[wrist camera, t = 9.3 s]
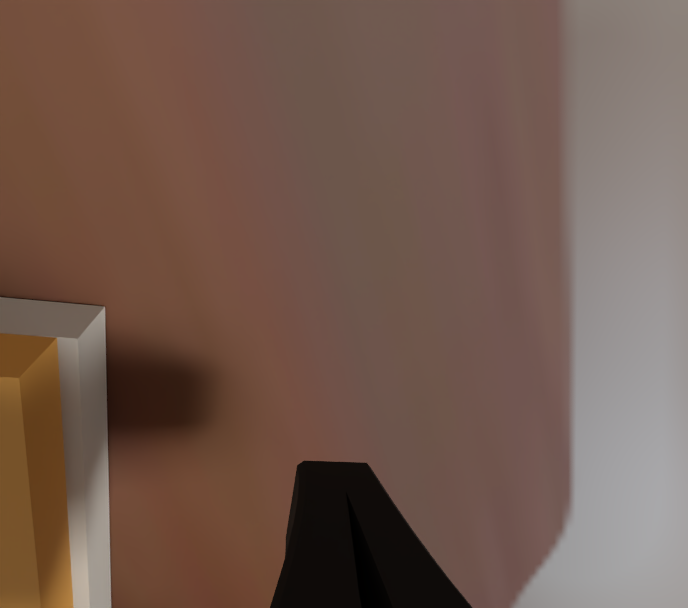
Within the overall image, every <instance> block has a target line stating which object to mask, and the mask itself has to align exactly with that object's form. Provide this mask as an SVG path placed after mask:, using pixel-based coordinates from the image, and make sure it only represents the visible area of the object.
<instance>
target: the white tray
mask: <svg viewBox="0 0 688 608" xmlns="http://www.w3.org/2000/svg"><path fill="white" fill-rule="evenodd" d="M0 333H3V334H16V335H29V336H42V337H55V338H57V345H58V362H59V378H60V394H61V411H62V427H63V443H64V460H65V476H66V492H67V509H68V525H69V542H70V558H71V574H72V591H73V607H74V608H111V575H110V526H109V477H108V428H107V379H106V330H105V306H94V305H83V304H72V303H60V302H49V301H38V300H27V299H16V298H5V297H0Z"/></svg>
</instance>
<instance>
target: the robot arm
mask: <svg viewBox="0 0 688 608" xmlns="http://www.w3.org/2000/svg"><path fill="white" fill-rule="evenodd" d="M270 608H472V607H471V605H470V604H469V603H468V602H467V600H466V599H465V598H464V597H463V596H462V594H461V593H460V592H459V591H458V589H457V588H456V587H455V586H454V585H453V583H452V582H451V581H450V579H449V578H448V577H447V576H446V574H445V573H444V572H443V570H442V569H441V568H440V567H439V565H438V564H437V563H436V561H435V560H434V559H433V557H432V556H431V555H430V553H429V552H428V551H427V549H426V548H425V546H424V545H423V544H422V542H421V541H420V540H419V538H418V537H417V536H416V534H415V533H414V531H413V530H412V529H411V527H410V526H409V524H408V523H407V522H406V520H405V519H404V517H403V516H402V514H401V513H400V511H399V510H398V508H397V507H396V506H395V504H394V503H393V501H392V500H391V498H390V497H389V495H388V494H387V492H386V491H385V489H384V487H383V486H382V484H381V483H380V481H379V480H378V478H377V477H376V475H375V474H374V472H373V471H372V469H371V468H370V466H369V465H368V464H367V463H354V462H325V461H303V462H302V463H300V464H299V465H297V471H296V477H295V483H294V490H293V496H292V502H291V509H290V515H289V521H288V528H287V534H286V553H285V560H284V564H283V567H282V571H281V574H280V577H279V580H278V584H277V587H276V590H275V593H274V597H273V600H272V603H271V606H270Z"/></svg>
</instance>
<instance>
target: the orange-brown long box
mask: <svg viewBox="0 0 688 608" xmlns="http://www.w3.org/2000/svg"><path fill="white" fill-rule="evenodd" d="M0 608H74V607H73V591H72V574H71V558H70V542H69V525H68V509H67V492H66V476H65V460H64V443H63V427H62V411H61V394H60V378H59V362H58V345H57V338H55V337H42V336H29V335H16V334H3V333H0Z"/></svg>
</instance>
